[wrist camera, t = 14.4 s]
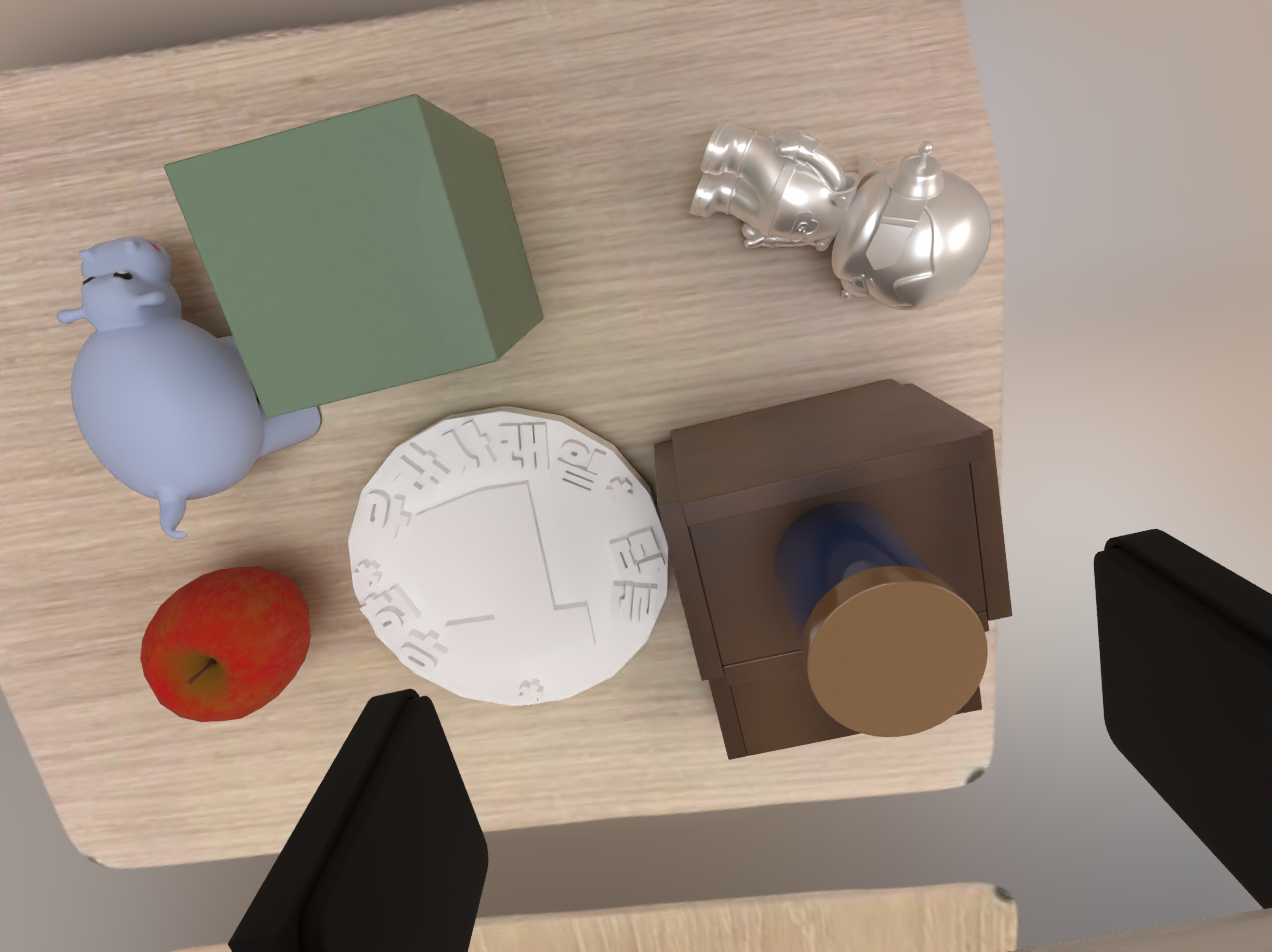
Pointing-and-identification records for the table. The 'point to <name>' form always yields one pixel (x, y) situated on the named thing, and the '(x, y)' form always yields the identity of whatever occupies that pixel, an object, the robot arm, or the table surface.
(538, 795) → the table surface
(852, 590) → the jar
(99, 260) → the hippopotamus toy
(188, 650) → the apple
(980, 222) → the figurine
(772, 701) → the wooden storage crate
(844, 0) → the table surface
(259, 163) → the stand
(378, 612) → the white round plaque
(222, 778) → the table surface
